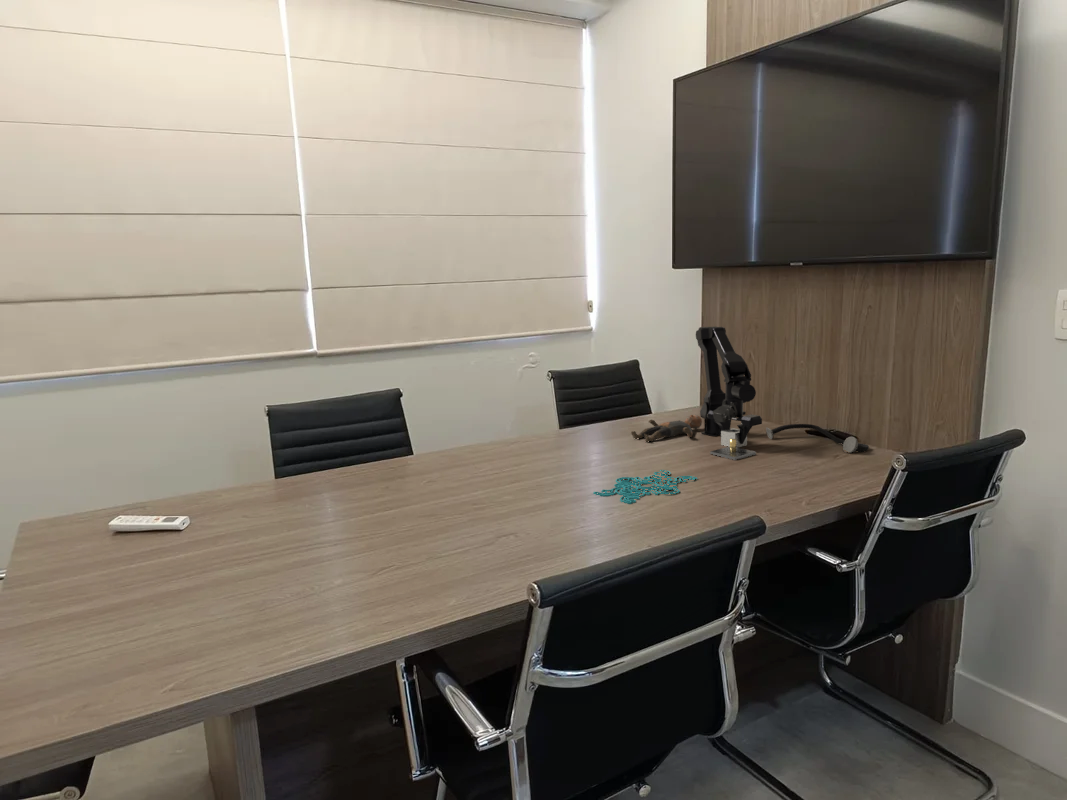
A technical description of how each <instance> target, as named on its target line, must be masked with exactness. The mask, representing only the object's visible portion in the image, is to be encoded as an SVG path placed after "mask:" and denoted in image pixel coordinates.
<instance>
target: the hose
mask: <svg viewBox="0 0 1067 800" xmlns="http://www.w3.org/2000/svg"><path fill="white" fill-rule="evenodd" d="M792 429H812V430H816V431H818V432H819V433H820V434H823V435H825V436H826V437H828V438H829V439H830V440H832V441H833V442H834V443H836V444H838V443H842V444H843V445H842V449H843V451H844V450H846V451H848V452H850V453H849V454H852V452H853V453H856V452H855V451H858V452H857V453H865V452H864V451H866V452H868V450H869V448H870V447H869V445H868V444H865V443H860V442H859V441H858V438H856V437H854V436H848V437H846V439H845V440H844V439H841V438H839V437H837V436H835V435H834V434H832V433H830V432H829V431H827V430H826V429H824V428H822V427H821V426H818V425H814V424H808V423H791V424H785V425H780V426H778V427H777V426H776V427H775V428H773V429H772V428H769V427H765V431H766V435H767V437H768V438H769V439H770V440H773V437H774V435H776V434H777V433H780V432H783V431H786V430H792Z"/></svg>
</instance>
